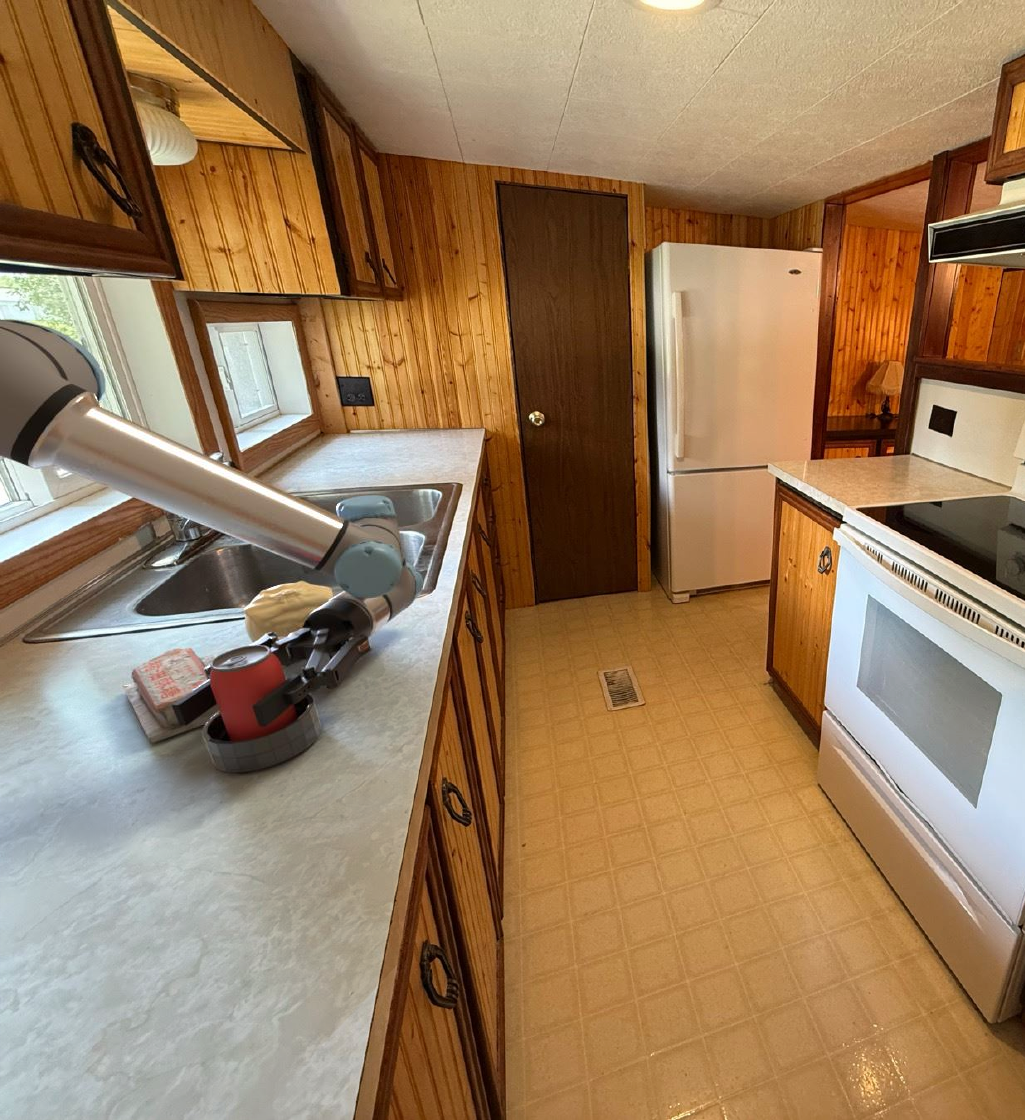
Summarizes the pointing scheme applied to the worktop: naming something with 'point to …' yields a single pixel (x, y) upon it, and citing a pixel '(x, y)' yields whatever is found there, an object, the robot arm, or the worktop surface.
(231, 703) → the beer can
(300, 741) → the bowl
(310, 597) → the sculpture
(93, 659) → the worktop surface
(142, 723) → the packaged product
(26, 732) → the worktop surface
